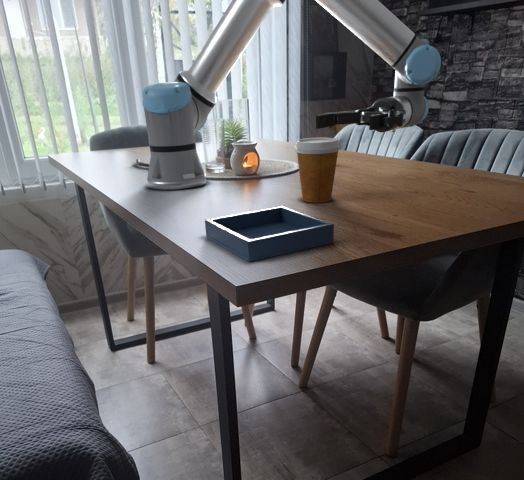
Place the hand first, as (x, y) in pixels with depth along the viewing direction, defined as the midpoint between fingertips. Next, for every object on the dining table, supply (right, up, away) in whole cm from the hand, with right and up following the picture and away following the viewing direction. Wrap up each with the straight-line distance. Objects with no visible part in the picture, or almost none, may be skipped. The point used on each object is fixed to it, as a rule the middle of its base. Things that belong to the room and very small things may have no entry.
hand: (343, 122), depth 105 cm
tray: (-17, -31, -24) cm, 43 cm away
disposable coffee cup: (-6, -17, +1) cm, 18 cm away
